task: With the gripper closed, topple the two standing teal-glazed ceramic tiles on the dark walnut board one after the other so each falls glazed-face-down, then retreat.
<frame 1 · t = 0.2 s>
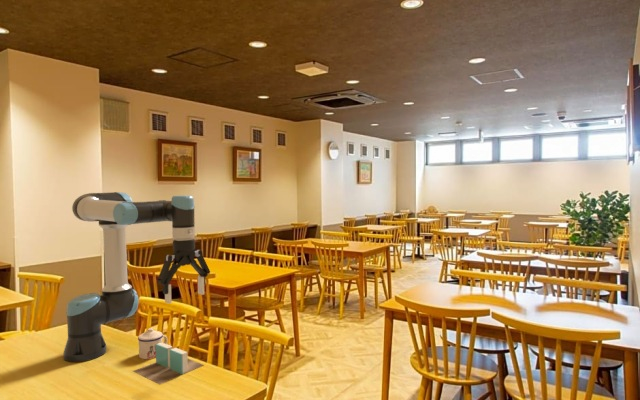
hand: (185, 298, 150), 27 cm above the table, fingers open, 13 cm apart
tile A: (164, 364, 156), point 1 cm above the table, touching walnut board
walnut board: (169, 372, 152), on the table
teacup with lid: (154, 357, 166), on the table
tile B: (178, 370, 150), point 1 cm above the table, touching walnut board
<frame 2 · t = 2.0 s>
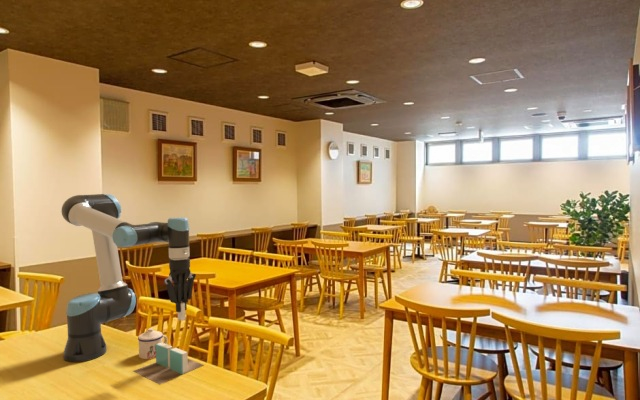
hand: (181, 319, 161), 16 cm above the table, fingers closed
nothing on the table moved.
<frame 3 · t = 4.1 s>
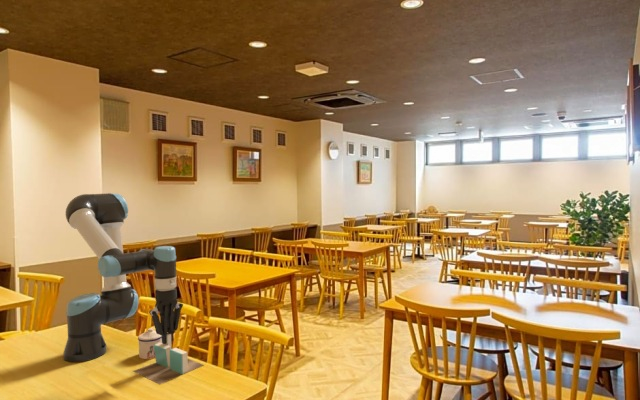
hand: (167, 351, 157), 6 cm above the table, fingers closed
tile A: (164, 363, 156), point 2 cm above the table, tilted 7°, touching gripper, walnut board
everything else where it was.
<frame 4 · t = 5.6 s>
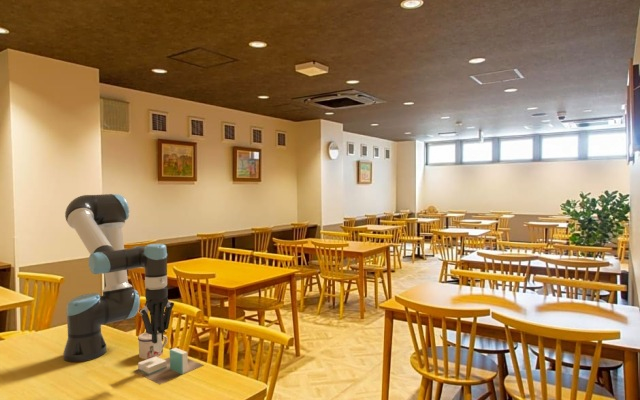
hand: (157, 350, 154), 7 cm above the table, fingers closed
tile A: (161, 361, 155), point 3 cm above the table, tilted 90°, touching walnut board
everything else where it was.
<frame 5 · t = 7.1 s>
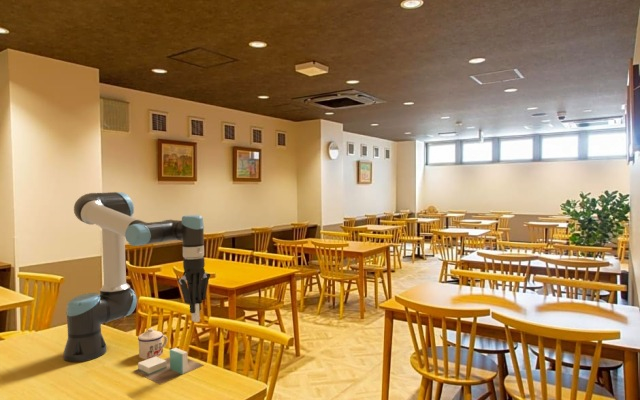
hand: (195, 320, 156), 17 cm above the table, fingers closed
nothing on the table moved.
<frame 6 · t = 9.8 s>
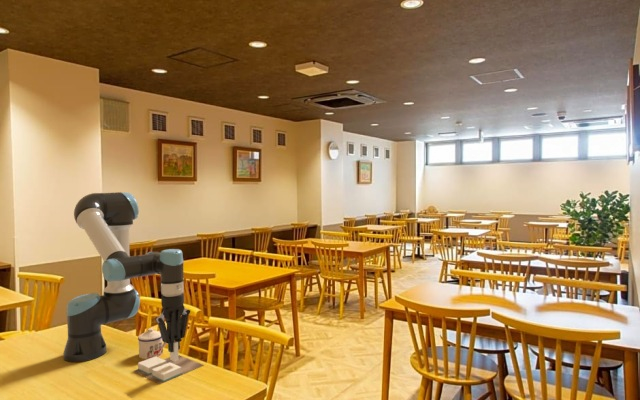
hand: (174, 359, 149), 6 cm above the table, fingers closed
tile B: (175, 368, 149), point 3 cm above the table, tilted 90°, touching walnut board
everything else where it was.
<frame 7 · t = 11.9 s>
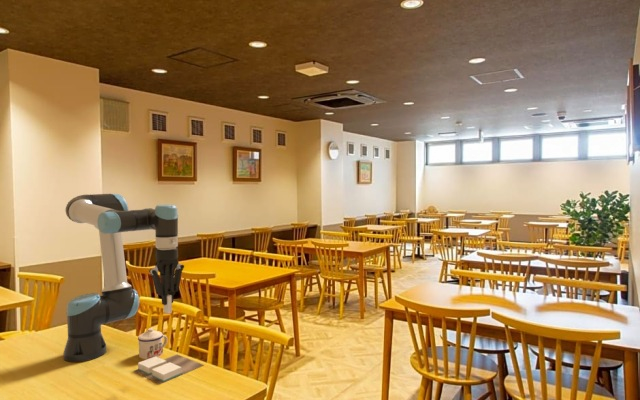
hand: (167, 312, 153), 21 cm above the table, fingers closed
nothing on the table moved.
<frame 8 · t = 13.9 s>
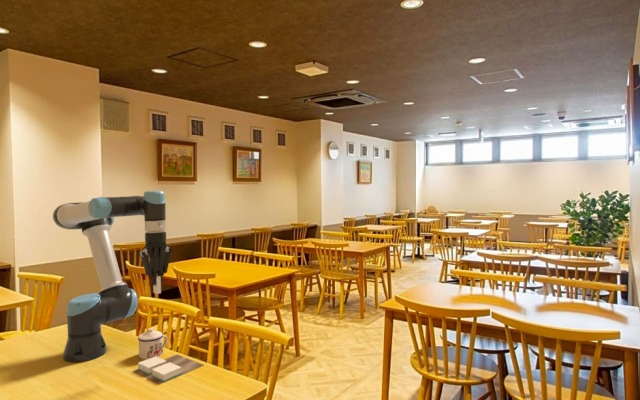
hand: (157, 292, 161), 26 cm above the table, fingers closed
nothing on the table moved.
at the end: tile A tilted 90°; tile B tilted 90°; tile B inside the target area (2.7 cm from its centre), point 2.7 cm above the table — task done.
